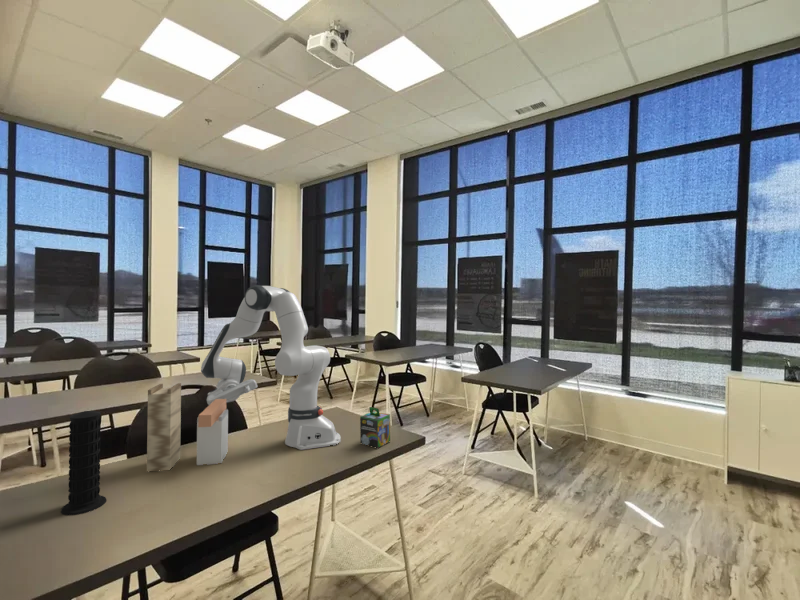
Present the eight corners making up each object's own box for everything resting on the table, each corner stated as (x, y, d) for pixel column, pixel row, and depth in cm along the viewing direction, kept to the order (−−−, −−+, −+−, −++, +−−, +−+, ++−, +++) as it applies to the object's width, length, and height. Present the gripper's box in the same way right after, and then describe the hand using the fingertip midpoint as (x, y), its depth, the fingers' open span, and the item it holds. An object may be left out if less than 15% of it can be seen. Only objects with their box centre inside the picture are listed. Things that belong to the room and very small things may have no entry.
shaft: (226, 408, 153) (226, 398, 153) (211, 426, 132) (211, 414, 132) (215, 409, 152) (215, 399, 152) (198, 427, 131) (198, 415, 131)
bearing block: (180, 458, 141) (181, 383, 141) (169, 470, 131) (170, 389, 132) (158, 460, 140) (159, 383, 140) (146, 472, 130) (147, 390, 130)
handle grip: (50, 514, 104) (87, 515, 104) (51, 416, 104) (88, 416, 104) (81, 496, 114) (115, 496, 114) (82, 405, 114) (116, 406, 114)
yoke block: (227, 452, 147) (228, 409, 147) (221, 463, 138) (221, 416, 138) (204, 454, 146) (205, 410, 146) (196, 465, 136) (197, 418, 136)
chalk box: (390, 442, 160) (391, 406, 160) (377, 449, 153) (378, 411, 153) (372, 437, 165) (373, 403, 165) (359, 444, 158) (359, 407, 158)
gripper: (255, 386, 177) (262, 391, 165) (209, 408, 167) (212, 414, 155) (250, 374, 176) (257, 377, 164) (203, 395, 166) (206, 400, 154)
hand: (235, 396), depth 159 cm, fingers open, 8 cm apart
